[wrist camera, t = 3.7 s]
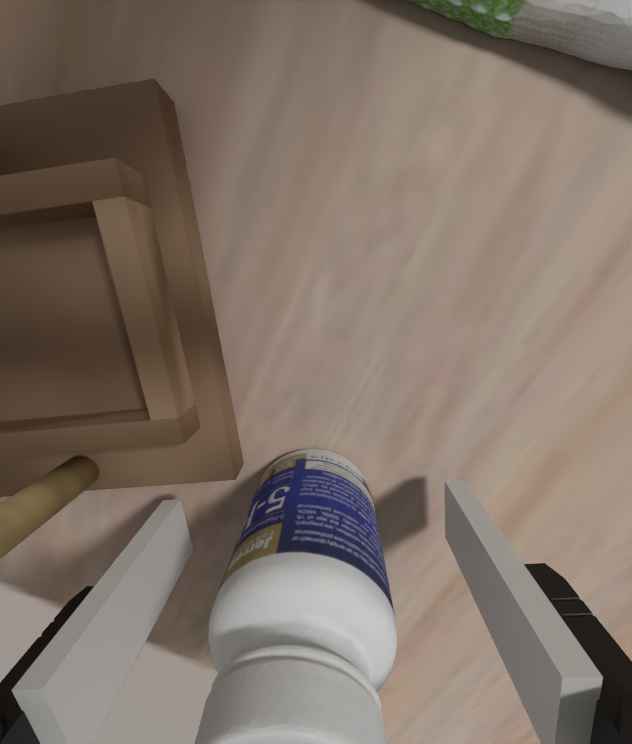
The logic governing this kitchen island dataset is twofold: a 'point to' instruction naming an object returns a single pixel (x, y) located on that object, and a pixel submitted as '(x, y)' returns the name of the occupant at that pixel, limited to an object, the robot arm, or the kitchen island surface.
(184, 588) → the kitchen island surface
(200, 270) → the cradle
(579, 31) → the dish towel
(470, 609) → the kitchen island surface
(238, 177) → the kitchen island surface
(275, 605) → the pill bottle
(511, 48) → the kitchen island surface
